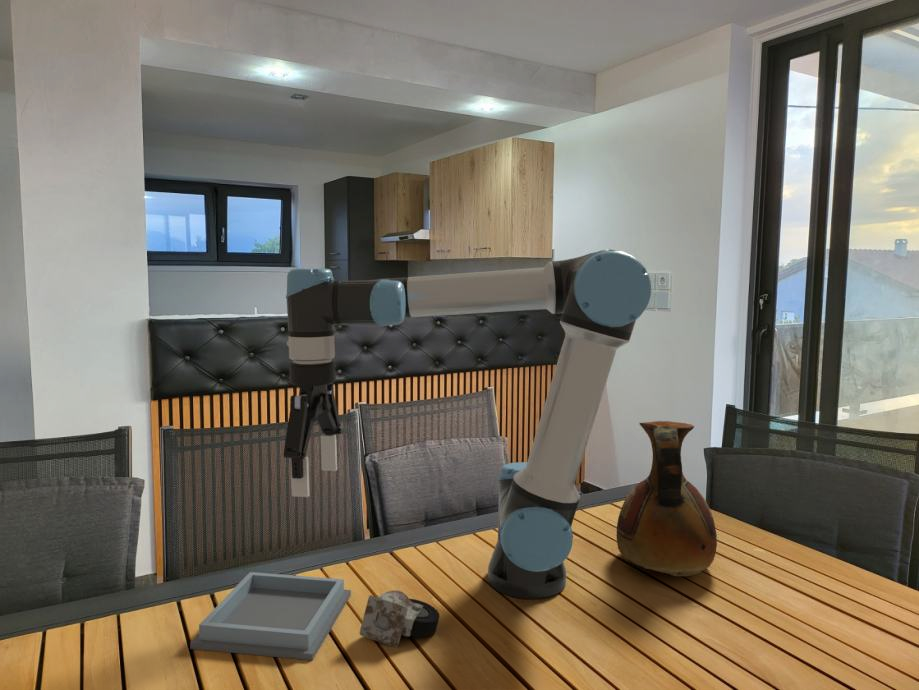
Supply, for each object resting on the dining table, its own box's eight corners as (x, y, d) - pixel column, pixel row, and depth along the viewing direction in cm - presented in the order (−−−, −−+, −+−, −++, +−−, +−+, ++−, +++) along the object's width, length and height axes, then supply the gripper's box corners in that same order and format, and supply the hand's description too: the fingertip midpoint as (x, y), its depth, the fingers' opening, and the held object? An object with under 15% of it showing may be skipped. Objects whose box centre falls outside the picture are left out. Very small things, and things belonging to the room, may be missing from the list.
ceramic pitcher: (704, 548, 141) (712, 414, 137) (725, 593, 121) (735, 439, 117) (612, 540, 144) (618, 409, 140) (618, 583, 124) (625, 432, 121)
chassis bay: (350, 595, 118) (350, 577, 118) (312, 660, 98) (312, 638, 98) (247, 586, 121) (247, 569, 120) (190, 648, 101) (189, 627, 101)
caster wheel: (437, 634, 111) (423, 660, 101) (377, 612, 113) (357, 635, 103) (447, 597, 110) (434, 619, 101) (386, 576, 113) (368, 595, 103)
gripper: (317, 350, 121) (320, 460, 123) (257, 371, 96) (263, 507, 99) (355, 351, 120) (358, 461, 122) (305, 372, 95) (309, 510, 98)
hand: (315, 482), depth 111 cm, fingers open, 13 cm apart
